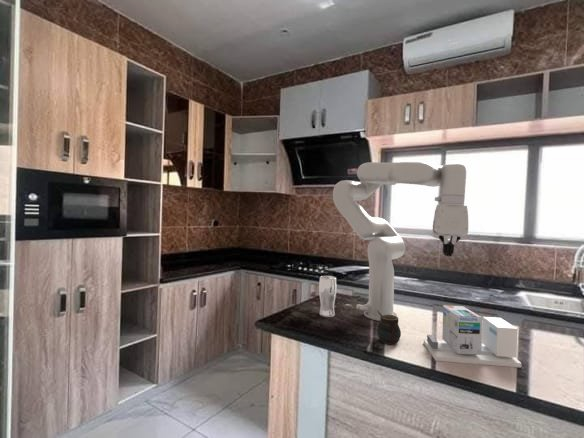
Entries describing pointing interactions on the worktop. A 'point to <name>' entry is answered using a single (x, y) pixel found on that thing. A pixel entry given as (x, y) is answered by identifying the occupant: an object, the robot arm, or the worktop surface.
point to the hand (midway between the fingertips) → (447, 255)
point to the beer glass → (327, 295)
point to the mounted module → (499, 336)
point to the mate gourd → (388, 329)
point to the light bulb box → (462, 330)
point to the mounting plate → (466, 355)
